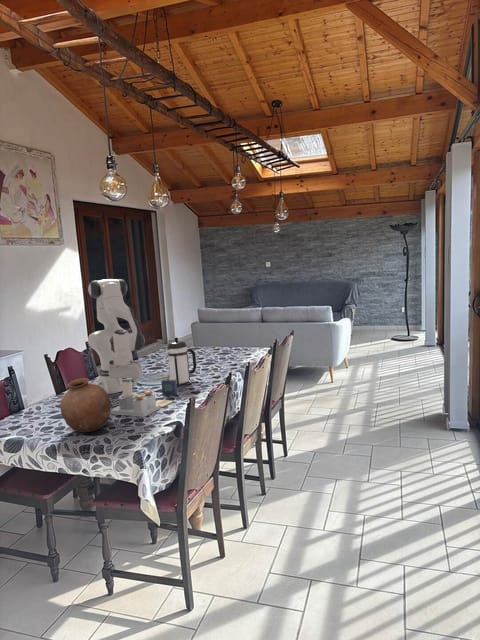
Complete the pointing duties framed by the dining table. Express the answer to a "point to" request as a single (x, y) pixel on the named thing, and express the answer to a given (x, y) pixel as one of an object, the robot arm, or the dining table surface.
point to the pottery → (85, 406)
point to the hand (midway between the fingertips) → (127, 385)
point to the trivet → (163, 403)
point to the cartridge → (127, 388)
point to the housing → (136, 406)
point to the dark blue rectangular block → (169, 387)
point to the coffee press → (180, 361)
